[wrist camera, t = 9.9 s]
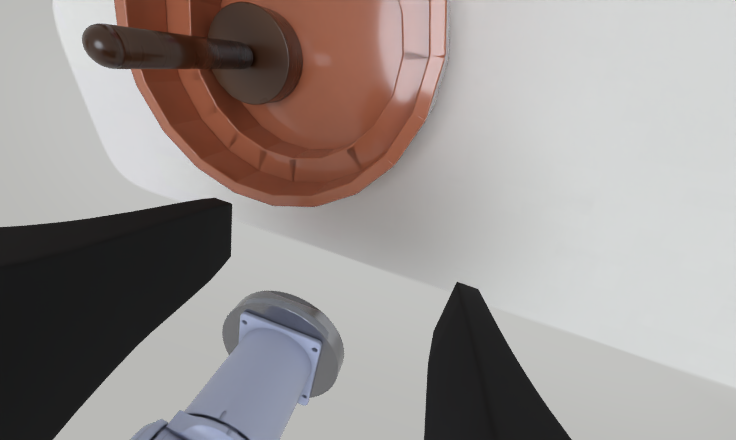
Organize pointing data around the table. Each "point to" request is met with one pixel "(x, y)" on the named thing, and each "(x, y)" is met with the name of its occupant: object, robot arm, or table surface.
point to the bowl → (304, 96)
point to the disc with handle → (212, 51)
